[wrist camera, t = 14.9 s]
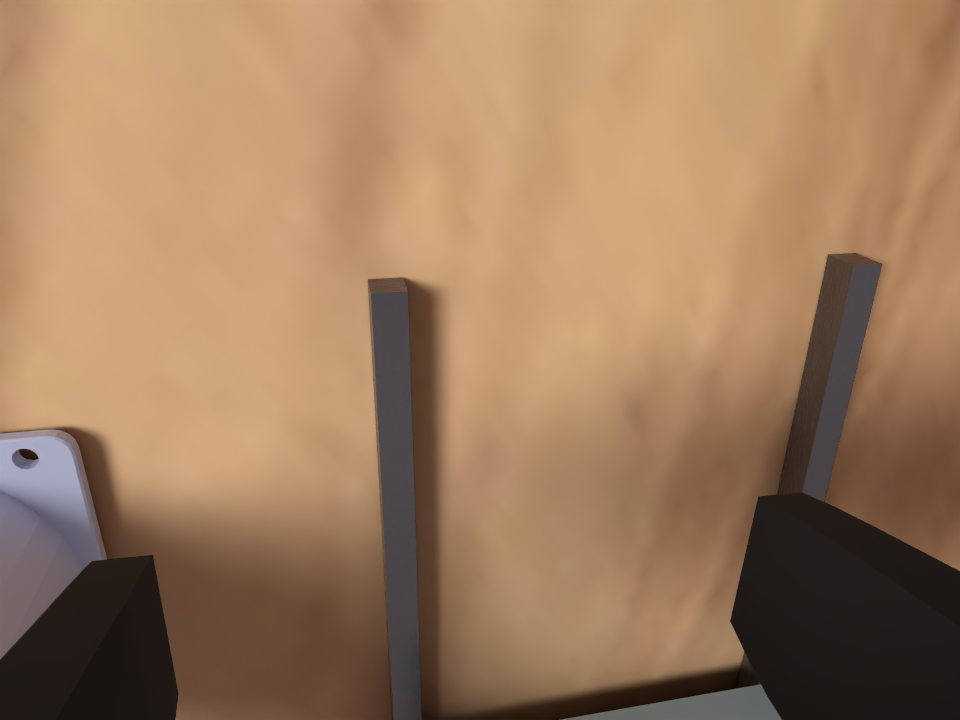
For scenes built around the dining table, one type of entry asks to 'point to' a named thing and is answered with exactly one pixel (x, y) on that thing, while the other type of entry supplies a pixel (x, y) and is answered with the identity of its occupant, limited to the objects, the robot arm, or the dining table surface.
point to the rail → (803, 468)
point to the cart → (700, 708)
